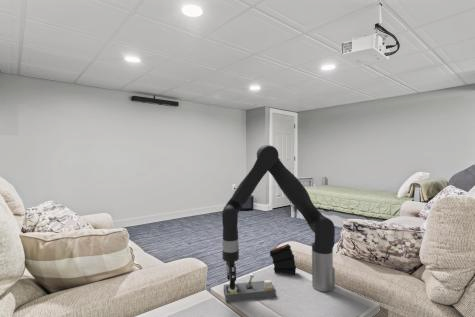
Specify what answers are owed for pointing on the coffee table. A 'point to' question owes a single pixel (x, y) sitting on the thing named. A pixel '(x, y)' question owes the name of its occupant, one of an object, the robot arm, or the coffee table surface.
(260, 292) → the panel
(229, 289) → the button
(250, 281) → the toggle
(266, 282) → the slider
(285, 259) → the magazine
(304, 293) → the coffee table surface
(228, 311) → the coffee table surface
